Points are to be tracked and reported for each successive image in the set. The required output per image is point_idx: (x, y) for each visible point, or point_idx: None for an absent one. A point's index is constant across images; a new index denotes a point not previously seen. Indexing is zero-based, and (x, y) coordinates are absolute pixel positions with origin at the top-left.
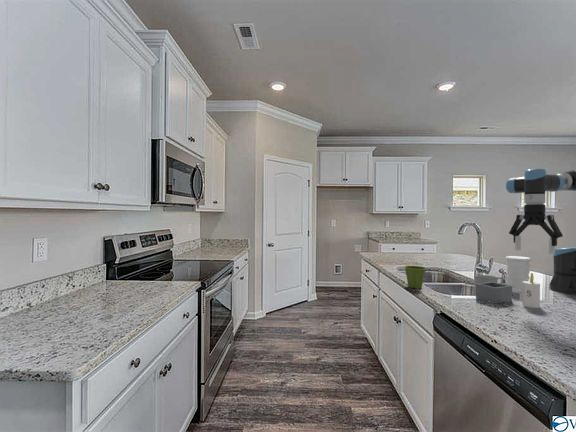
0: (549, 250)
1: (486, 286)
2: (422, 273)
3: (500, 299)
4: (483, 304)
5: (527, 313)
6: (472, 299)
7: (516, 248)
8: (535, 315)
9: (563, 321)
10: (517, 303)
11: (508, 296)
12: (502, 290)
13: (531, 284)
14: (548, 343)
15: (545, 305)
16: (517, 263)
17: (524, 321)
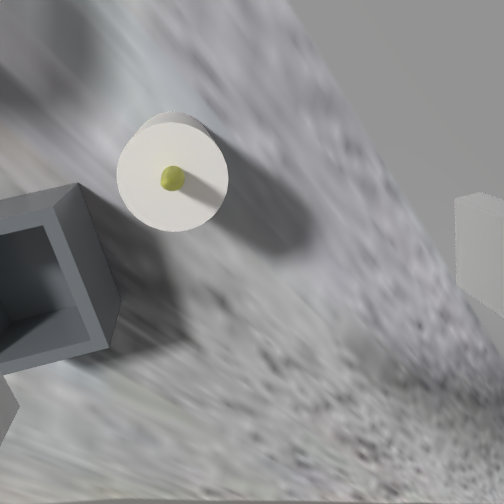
0: (497, 305)
1: (46, 363)
2: None
3: (107, 280)
4: (120, 358)
5: (275, 274)
6: None
7: (2, 432)
8: (304, 264)
9: (390, 221)
10: None
11: (81, 221)
12: (93, 289)
13: (213, 215)
14: (484, 419)
15: (178, 55)
16: None
17: (346, 356)
